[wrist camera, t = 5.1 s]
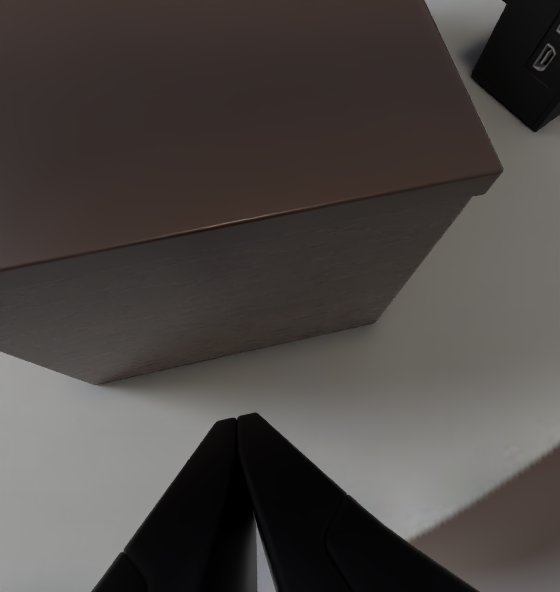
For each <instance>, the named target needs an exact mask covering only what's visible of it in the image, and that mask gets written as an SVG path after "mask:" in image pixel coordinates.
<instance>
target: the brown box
mask: <svg viewBox="0 0 560 592" xmlns="http://www.w3.org/2000/svg"><path fill="white" fill-rule="evenodd" d="M502 172H503V167H502V165H501V163H500V161H499V158H498V156H497V154H496V152H495V150H494V148H493V146H492V144H491V141H490V139H489V137H488V135H487V133H486V131H485V129H484V127H483V124H482V122H481V120H480V118H479V116H478V114H477V112H476V109H475V107H474V105H473V103H472V101H471V99H470V97H469V95H468V92H467V90H466V88H465V86H464V84H463V82H462V80H461V78H460V75H459V73H458V71H457V69H456V67H455V65H454V63H453V60H452V58H451V56H450V54H449V52H448V50H447V48H446V46H445V43H444V41H443V39H442V37H441V35H440V33H439V31H438V28H437V26H436V24H435V22H434V20H433V18H432V16H431V14H430V11H429V9H428V7H427V5H426V3H425V1H424V0H0V352H3V353H6V354H9V355H12V356H14V357H17V358H20V359H23V360H26V361H28V362H31V363H34V364H37V365H40V366H42V367H45V368H48V369H51V370H54V371H56V372H59V373H62V374H65V375H68V376H70V377H73V378H76V379H79V380H82V381H85V382H87V383H90V384H93V385H96V384H100V383H105V382H109V381H114V380H118V379H123V378H127V377H132V376H136V375H141V374H145V373H150V372H154V371H159V370H163V369H168V368H172V367H177V366H181V365H186V364H190V363H195V362H199V361H204V360H208V359H213V358H217V357H222V356H226V355H231V354H235V353H240V352H244V351H249V350H253V349H257V348H262V347H266V346H271V345H275V344H280V343H284V342H289V341H293V340H298V339H302V338H307V337H311V336H316V335H320V334H325V333H329V332H334V331H338V330H343V329H347V328H352V327H356V326H361V325H365V324H370V323H374V322H376V321H377V320H378V318H379V317H380V316H381V314H382V313H383V312H384V311H385V309H386V308H387V307H388V305H389V304H390V303H391V301H392V300H393V299H394V298H395V296H396V295H397V294H398V292H399V291H400V290H401V289H402V287H403V286H404V285H405V283H406V282H407V281H408V279H409V278H410V277H411V276H412V274H413V273H414V272H415V270H416V269H417V268H418V267H419V265H420V264H421V263H422V261H423V260H424V259H425V258H426V256H427V255H428V254H429V252H430V251H431V250H432V248H433V247H434V246H435V245H436V243H437V242H438V241H439V239H440V238H441V237H442V236H443V234H444V233H445V232H446V230H447V229H448V228H449V226H450V225H451V224H452V223H453V221H454V220H455V219H456V217H457V216H458V215H459V214H460V212H461V211H462V210H463V208H464V207H465V206H466V204H467V203H468V202H469V201H470V199H471V198H472V197H473V196H478V195H483V194H485V193H486V192H487V191H488V189H489V188H490V187H491V186H492V184H493V183H494V182H495V181H496V179H497V178H498V177H499V176H500V175H501V173H502Z"/></svg>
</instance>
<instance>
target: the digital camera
mask: <svg viewBox="0 0 560 592" xmlns="http://www.w3.org/2000/svg"><path fill="white" fill-rule="evenodd" d="M502 1H504V2H505V3H506V4H507V5H506V7H505V9H504V10H503V12H502V14H501V16H500V18H499V20H498V22H497V24H496V26H495V28H494V30H493V32H492V34H491V36H490V38H489V40H488V42H487V43H486V45H485V47H484V49H483V51H482V53H481V55H480V57H479V59H478V61H477V63H476V65H475V67H474V69H473V71H472V77H473V78H474V79H475V80H476V81H477V82H479V83H480V84H481V85H482V86H483V87H484V88H486V89H487V90H488V91H489V92H490V93H491V94H493V95H494V96H495V97H496V98H497V99H498V100H499V101H501V102H502V103H503V104H504V105H505V106H506V107H508V108H509V109H510V110H511V111H512V112H513V113H514V114H516V115H517V116H518V117H519V118H520V119H521V120H523V121H524V122H525V123H526V124H527V125H528V126H530V127H531V129H532V130H534V131H537V130H539V129H540V128H541V127H543V126H544V125H545V124H547V123H548V122H550V121H551V120H552V119H554V118H555V117H556V116H558V115H559V114H560V0H502Z"/></svg>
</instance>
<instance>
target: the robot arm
mask: <svg viewBox="0 0 560 592" xmlns="http://www.w3.org/2000/svg"><path fill="white" fill-rule="evenodd" d="M255 519H256V521H255ZM256 523H257V527H258V531H259V534H260V538H261V541H262V545H263V548H264V552H265V555H266V558H267V562H268V565H269V569H270V572H271V576H272V579H273V583H274V586H275V589H276V592H479V591H478V590H476V589H475V588H473V587H472V586H470V585H469V584H468V583H466V582H465V581H463V580H462V579H460V578H459V577H457V576H456V575H454V574H453V573H452V572H450V571H449V570H447V569H446V568H444V567H443V566H441V565H440V564H438V563H437V562H435V561H434V560H433V559H431V558H430V557H428V556H427V555H425V554H424V553H422V552H421V551H420V550H418V549H417V548H415V547H414V546H412V545H411V544H410V543H408V542H407V541H405V540H404V539H403V538H401V537H400V536H399V535H397V534H396V533H394V532H393V531H392V530H390V529H389V528H387V527H386V526H385V525H384V524H383V523H381V522H380V521H379V520H378V519H377V518H375V517H374V516H373V515H372V514H370V513H369V512H368V511H367V510H366V509H364V508H363V507H362V506H361V505H360V504H359V503H358V502H357V501H356V500H354V499H353V498H352V497H351V496H350V495H347V493H346V492H345V491H344V490H342V489H341V488H340V487H339V486H338V485H337V484H336V483H335V482H334V481H332V480H331V479H330V478H329V477H328V476H327V475H326V474H325V473H324V472H322V471H321V470H320V469H319V468H318V467H317V466H316V465H315V464H314V463H312V462H311V461H310V460H309V459H308V458H307V457H306V456H305V455H304V454H302V453H301V452H300V451H299V450H298V449H297V448H296V447H295V446H294V445H292V444H291V443H290V442H289V441H288V440H287V439H286V438H285V437H283V436H282V435H281V434H280V433H279V432H278V431H277V430H276V429H275V428H273V427H272V426H271V425H270V424H269V423H268V422H267V421H266V420H265V419H263V418H262V417H261V416H260V415H259V414H258V413H250V414H246V415H242V416H239V417H238V419H236V418H229V419H225V420H220V421H217V422H216V423H215V424H214V425H213V427H212V428H211V430H210V431H209V432H208V434H207V435H206V437H205V438H204V439H203V441H202V442H201V443H200V445H199V446H198V448H197V449H196V450H195V452H194V453H193V454H192V456H191V457H190V459H189V460H188V461H187V463H186V464H185V465H184V467H183V468H182V470H181V471H180V472H179V474H178V475H177V477H176V478H175V479H174V481H173V482H172V483H171V485H170V486H169V488H168V489H167V490H166V492H165V493H164V494H163V496H162V497H161V499H160V500H159V501H158V503H157V504H156V505H155V507H154V508H153V510H152V511H151V512H150V514H149V515H148V516H147V518H146V519H145V521H144V522H143V523H142V525H141V526H140V528H139V529H138V530H137V532H136V533H135V534H134V536H133V537H132V539H131V540H130V541H129V543H128V544H127V545H126V547H125V548H124V552H121V553H120V554H119V555H118V557H117V558H116V559H115V561H114V562H113V563H112V565H111V566H110V568H109V569H108V570H107V572H106V573H105V574H104V576H103V577H102V578H101V580H100V581H99V582H98V584H97V585H96V586H95V587H94V589H93V590H92V591H91V592H257V543H256Z"/></svg>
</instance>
